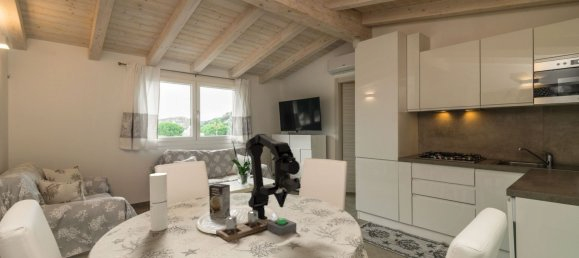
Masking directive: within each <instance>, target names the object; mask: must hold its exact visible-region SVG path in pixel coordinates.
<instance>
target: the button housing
mask: <svg viewBox="0 0 579 258" xmlns="http://www.w3.org/2000/svg"><path fill="white" fill-rule="evenodd" d="M285 219H286V224H285V225H282V226H280V225H278V224H277V219H276V220H272V221H269V222H267V223H266V224H267V231H269V232H272V233H273V234H276V235H277V236H279V237H281V236H284V235H286V234H290V233H293V234H295V233H297V222H294V221H293V220H289V219H287V218H285Z"/></svg>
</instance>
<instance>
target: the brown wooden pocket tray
mask: <svg viewBox="0 0 579 258" xmlns="http://www.w3.org/2000/svg"><path fill="white" fill-rule="evenodd" d="M266 229H267V223H265V222H263V221H261V220H259V219H258V226H256V227H253V228H250V227H248V220H246V221H243V222H240V223H237V233H234V234H231V235H227V234H226V227H223V228H220V229H216V232H215V234H216V235H217V236H219V237H220V238H222V239H223V240H225V241H227V242H230V241H233V240H236V239H239V238H241V237H246V236H249V235H251V234H254V233H258V232H260V231H263V230H266Z"/></svg>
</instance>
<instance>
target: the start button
mask: <svg viewBox="0 0 579 258" xmlns="http://www.w3.org/2000/svg"><path fill="white" fill-rule="evenodd" d="M286 219H287V218H285V217H279V218H277V219H276V220H277V224H278V225H280V226H282V225H285V224H286Z"/></svg>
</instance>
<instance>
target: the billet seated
mask: <svg viewBox="0 0 579 258" xmlns="http://www.w3.org/2000/svg"><path fill="white" fill-rule="evenodd" d="M237 220H238V219H237V216H235V215H228V216H226V217H225V228H226V234H227V235H231V234H234V233H237V224H238V223H237V222H238V221H237Z"/></svg>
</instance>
